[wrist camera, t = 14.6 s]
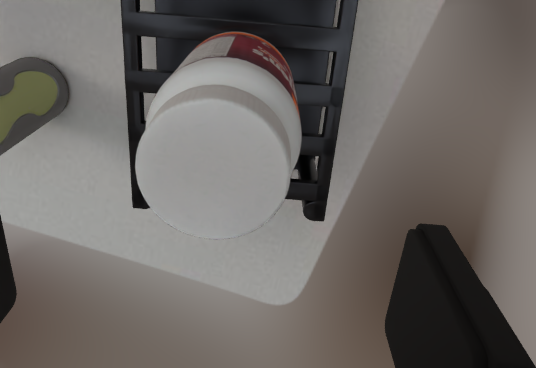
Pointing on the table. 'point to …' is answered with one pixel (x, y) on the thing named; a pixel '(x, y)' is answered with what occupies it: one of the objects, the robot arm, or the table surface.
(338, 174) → the table surface
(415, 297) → the robot arm
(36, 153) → the table surface
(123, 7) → the rack
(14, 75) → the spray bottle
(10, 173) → the table surface
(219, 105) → the pill bottle
